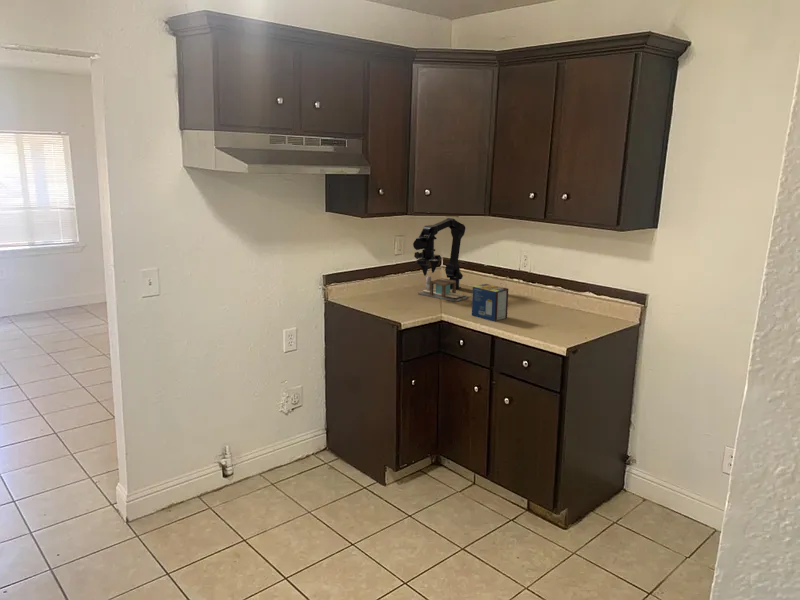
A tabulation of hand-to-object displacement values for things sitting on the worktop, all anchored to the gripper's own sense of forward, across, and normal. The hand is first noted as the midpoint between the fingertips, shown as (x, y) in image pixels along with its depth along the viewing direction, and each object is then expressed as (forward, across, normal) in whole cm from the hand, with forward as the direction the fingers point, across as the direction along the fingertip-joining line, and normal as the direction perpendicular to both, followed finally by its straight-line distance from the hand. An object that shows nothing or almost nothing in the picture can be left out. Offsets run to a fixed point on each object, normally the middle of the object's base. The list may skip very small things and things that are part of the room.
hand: (428, 274), depth 365 cm
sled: (+10, +1, +10) cm, 14 cm away
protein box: (+12, +27, +51) cm, 59 cm away
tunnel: (+12, +1, +10) cm, 15 cm away
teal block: (+10, +1, +10) cm, 14 cm away
